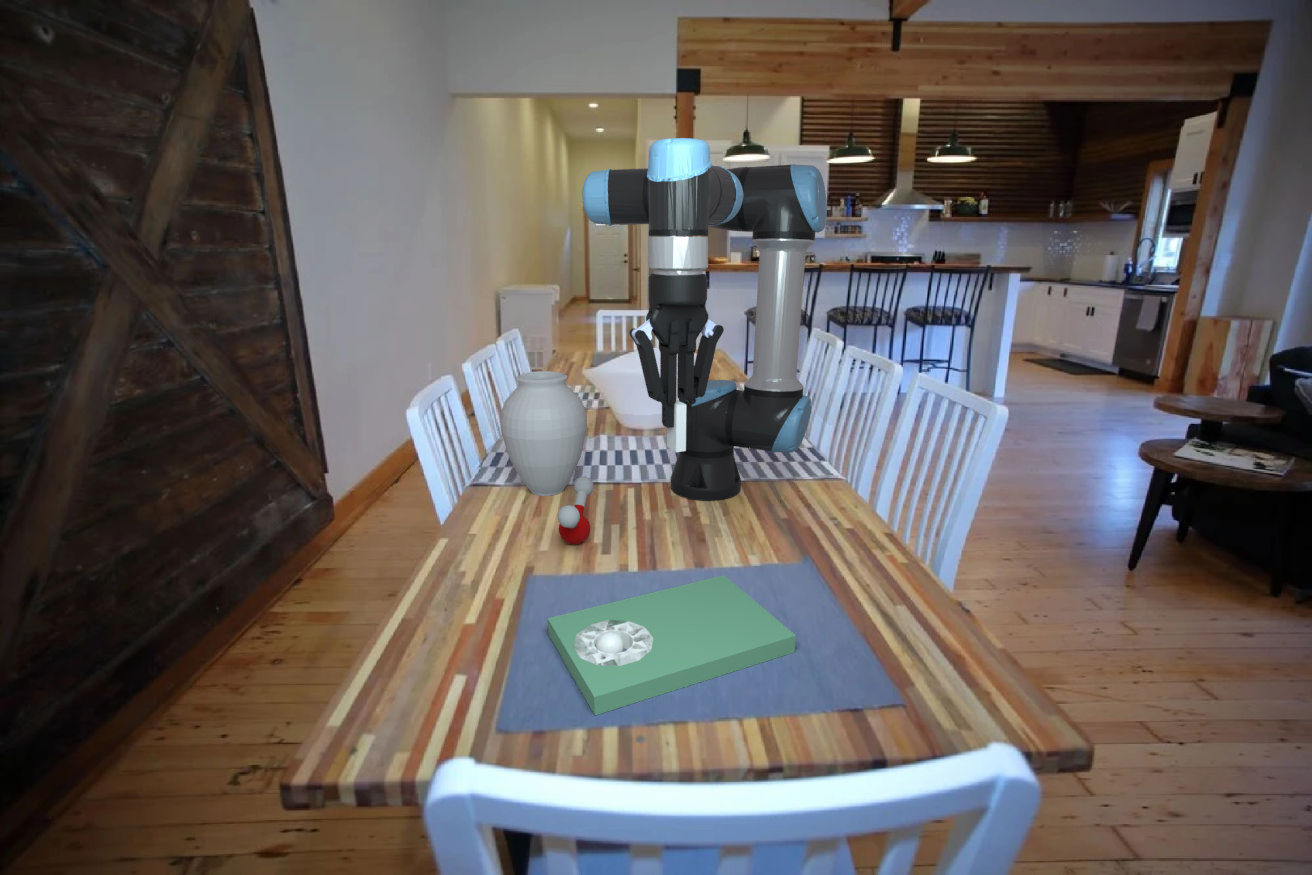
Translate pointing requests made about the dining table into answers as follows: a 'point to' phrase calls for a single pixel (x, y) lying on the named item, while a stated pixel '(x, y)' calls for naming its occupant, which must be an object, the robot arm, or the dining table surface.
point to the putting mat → (667, 641)
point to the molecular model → (576, 514)
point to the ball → (610, 643)
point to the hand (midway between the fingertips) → (676, 448)
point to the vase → (544, 431)
